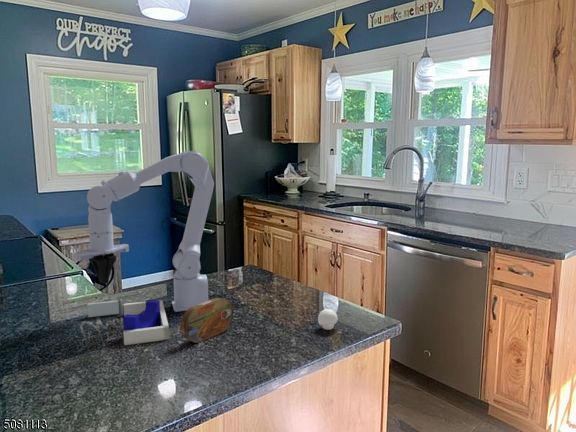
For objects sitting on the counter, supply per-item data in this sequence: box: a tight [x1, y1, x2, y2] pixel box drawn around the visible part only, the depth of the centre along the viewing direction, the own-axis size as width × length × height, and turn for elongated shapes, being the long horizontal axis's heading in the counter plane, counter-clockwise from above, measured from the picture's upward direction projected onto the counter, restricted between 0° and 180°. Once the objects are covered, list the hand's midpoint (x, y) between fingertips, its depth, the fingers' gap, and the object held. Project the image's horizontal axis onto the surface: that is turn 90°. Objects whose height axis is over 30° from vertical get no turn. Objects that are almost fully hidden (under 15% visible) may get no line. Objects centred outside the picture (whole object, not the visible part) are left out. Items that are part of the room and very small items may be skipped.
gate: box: [86, 298, 124, 318], centre depth 117 cm, size 1×8×4 cm, turn 110°
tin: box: [180, 297, 234, 344], centre depth 105 cm, size 15×3×8 cm, turn 143°
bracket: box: [123, 299, 170, 346], centre depth 110 cm, size 10×20×3 cm, turn 20°
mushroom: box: [317, 308, 339, 331], centre depth 109 cm, size 5×5×5 cm
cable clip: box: [122, 299, 161, 332], centre depth 107 cm, size 12×4×6 cm, turn 170°
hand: (103, 282), depth 115 cm, fingers closed
